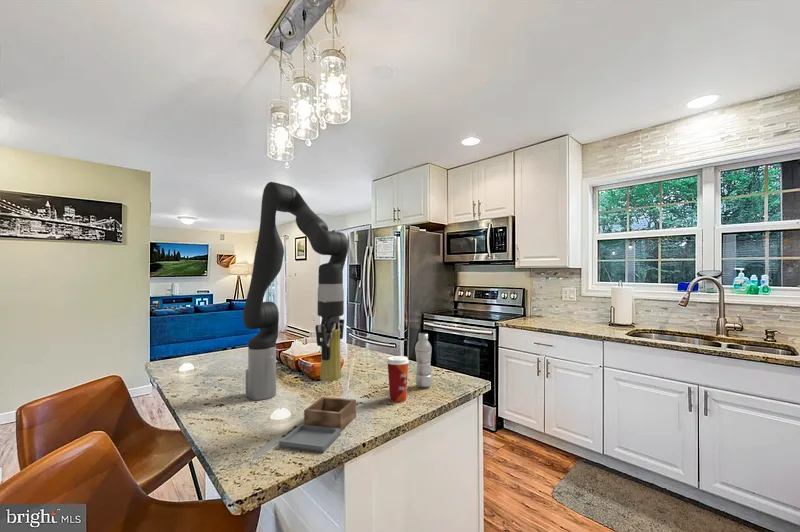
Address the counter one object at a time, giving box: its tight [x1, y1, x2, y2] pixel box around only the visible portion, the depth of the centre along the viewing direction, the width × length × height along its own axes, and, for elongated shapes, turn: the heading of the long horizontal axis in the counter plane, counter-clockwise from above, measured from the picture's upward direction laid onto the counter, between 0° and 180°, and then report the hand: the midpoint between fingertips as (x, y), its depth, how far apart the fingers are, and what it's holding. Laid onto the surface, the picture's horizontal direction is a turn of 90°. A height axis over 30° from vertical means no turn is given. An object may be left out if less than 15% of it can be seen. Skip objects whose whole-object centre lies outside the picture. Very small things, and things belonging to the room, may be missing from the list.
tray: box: [278, 423, 342, 454], centre depth 89 cm, size 12×10×2 cm
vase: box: [319, 328, 342, 382], centre depth 101 cm, size 6×6×14 cm
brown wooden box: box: [303, 396, 357, 433], centre depth 100 cm, size 11×11×5 cm
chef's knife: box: [251, 425, 299, 462], centre depth 88 cm, size 19×1×3 cm
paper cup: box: [386, 355, 410, 403], centre depth 119 cm, size 8×8×14 cm
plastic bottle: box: [414, 332, 433, 388], centre depth 132 cm, size 6×7×20 cm
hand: (330, 357), depth 101 cm, fingers closed on vase, 5 cm apart
